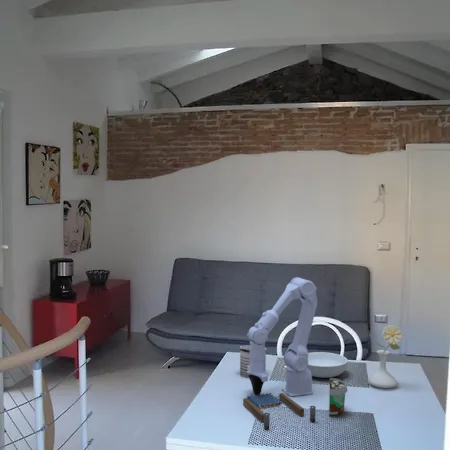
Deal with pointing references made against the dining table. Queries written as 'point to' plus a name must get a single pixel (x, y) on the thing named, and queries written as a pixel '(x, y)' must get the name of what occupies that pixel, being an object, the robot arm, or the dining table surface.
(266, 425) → the posts
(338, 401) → the food container
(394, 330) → the flower in vase
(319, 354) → the serving bowl
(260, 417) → the walled channel
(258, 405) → the woven mat
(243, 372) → the can
